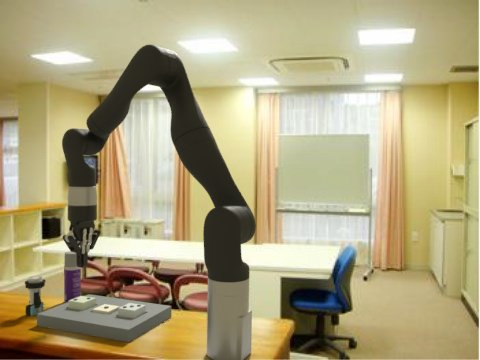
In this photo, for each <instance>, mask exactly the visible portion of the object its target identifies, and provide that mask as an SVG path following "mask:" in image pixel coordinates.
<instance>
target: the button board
mask: <svg viewBox="0 0 480 360" xmlns="http://www.w3.org/2000/svg"><path fill="white" fill-rule="evenodd" d="M85 296H86V297H92V298H96V306H94V307H91V308H89V309H87V310H84V311H82V310H76V309H69V308H68V302H67V303H62V304H60V305H57V306H55V307H51V308H49V309H46V310H43V311H42V312H41V313H38V314H36V326H37V327H43V328H46V329H47V328H49V329H53V330H54V329H55V330H58V331H59V330H60V331H65V332H69V333H74V334H75V333H76V334H81V335H85V336H91V337H92V336H93V337H98V338H102V339H103V338H104V339H109V340H114V341H119V342H120V341H121V342H124V343H130V342H131V341H133V340H135V339H136V338H138V337H140V336H141V335H144V334H146V333H147V332H148V331H150V330H152V329H153V328H155V327H157V326H159V325H160V324H162V323H164V322H166V321H167V320H168V319H170V318H172V305H166V304H159V303H153V302H144V301H138V300H131V299H125V298H119V297H118V298H117V297H110V296H103V295H96V294H91V293H90V294H89V293H88V294H85ZM128 303H134V304H141V305H145V314H143V315H142V316H140V317H138V318H136V319H132V318H126V317H120V316H118V311H116V312H114V313H111V314H109V315H107V314H101V313H94V312H93V309H94V308H97V307H99V306H101V305H104V304H108V305H114V306H120V307H122V306H124V305H126V304H128Z"/></svg>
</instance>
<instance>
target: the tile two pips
mask: <svg viewBox="0 0 480 360" xmlns="http://www.w3.org/2000/svg"><path fill="white" fill-rule="evenodd" d="M94 306H96V298H92V297H86V295H81V296H79V297H77V298H74V299H71V300H69V301H68V308H69V309H76V310H82V311H84V310H87V309H89V308H91V307H94Z"/></svg>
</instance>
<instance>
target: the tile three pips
mask: <svg viewBox="0 0 480 360" xmlns="http://www.w3.org/2000/svg"><path fill="white" fill-rule="evenodd" d="M143 314H145V305H141V304H134V303H128V304H126V305H124V306H122V307H119V308H118V316H120V317H126V318H132V319H136V318H138V317H140V316H142V315H143Z"/></svg>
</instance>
